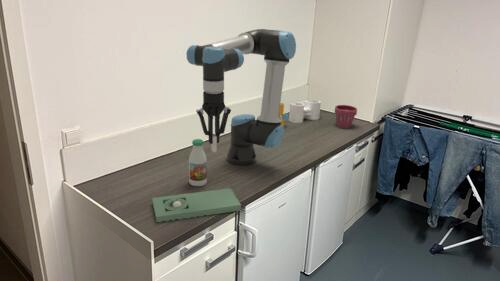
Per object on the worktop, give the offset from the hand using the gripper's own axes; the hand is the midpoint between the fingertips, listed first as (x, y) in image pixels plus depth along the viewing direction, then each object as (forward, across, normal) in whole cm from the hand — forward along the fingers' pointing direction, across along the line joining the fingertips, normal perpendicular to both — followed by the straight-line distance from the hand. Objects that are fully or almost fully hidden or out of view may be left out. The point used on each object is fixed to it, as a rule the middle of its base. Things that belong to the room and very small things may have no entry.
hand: (213, 150), depth 146 cm
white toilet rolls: (+26, -89, -92) cm, 131 cm away
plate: (+22, +8, +3) cm, 23 cm away
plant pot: (+26, -108, -73) cm, 133 cm away
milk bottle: (+23, +3, -17) cm, 28 cm away
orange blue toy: (+25, -65, -82) cm, 108 cm away
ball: (+20, +15, +3) cm, 25 cm away
